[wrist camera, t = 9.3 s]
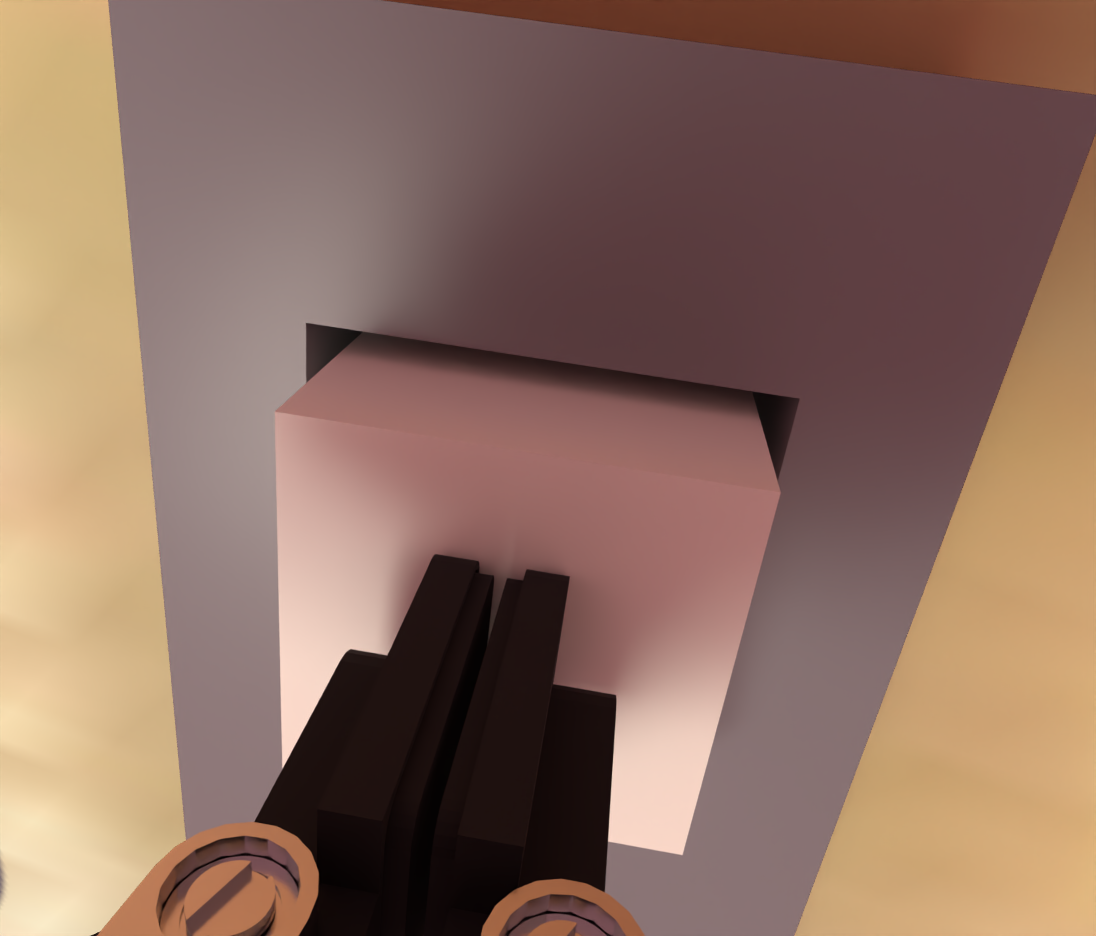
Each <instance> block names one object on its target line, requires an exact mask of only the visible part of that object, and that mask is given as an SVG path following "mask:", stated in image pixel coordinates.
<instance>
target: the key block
mask: <svg viewBox="0 0 1096 936" xmlns="http://www.w3.org/2000/svg"><path fill="white" fill-rule="evenodd" d="M108 2H109V13H110V24H111V35H112V46H113V56H114V67H115V78H116V89H117V100H118V110H119V121H120V132H121V143H122V154H123V164H124V175H125V186H126V197H127V208H128V218H129V229H130V240H131V251H132V261H133V272H134V283H135V294H136V305H137V315H138V326H139V337H140V348H141V359H142V369H143V380H144V391H145V402H146V413H147V423H148V434H149V445H150V456H151V466H152V477H153V488H154V499H155V510H156V520H157V531H158V542H159V553H160V564H161V574H162V585H163V596H164V607H165V617H166V628H167V639H168V650H169V661H170V671H171V682H172V693H173V704H174V715H175V725H176V736H177V747H178V758H179V769H180V779H181V790H182V801H183V812H184V822H185V833H186V840H187V839H189V838H191V837H193V836H194V835H196V834H198V833H200V832H202V831H205V830H209V829H212V828H215V827H218V826H221V825H225V824H232V823H245V822H254V821H255V819H256V817H257V816H258V814H259V812H260V810H261V808H262V806H263V804H264V802H265V801H266V799H267V797H268V795H269V793H270V791H271V789H272V787H273V786H274V784H275V782H276V780H277V778H278V776H279V774H280V773H281V771H282V730H281V683H280V637H279V591H278V544H277V498H276V452H275V411H276V410H277V409H278V408H279V407H280V406H281V405H283V404H284V403H285V402H286V401H287V400H288V399H289V398H290V397H291V396H293V395H294V394H295V393H296V392H297V391H298V390H299V389H300V388H301V387H302V386H304V385H305V384H306V383H307V382H308V381H309V380H310V379H311V378H312V377H314V376H315V375H316V374H317V373H318V372H319V371H320V370H321V369H322V368H324V367H325V366H326V365H327V364H328V363H329V362H330V361H331V360H332V359H333V358H335V357H336V356H337V355H338V354H339V353H340V352H341V351H342V350H343V349H345V348H346V347H347V346H348V345H349V344H350V343H351V342H352V341H353V340H355V339H356V338H357V337H358V336H359V335H360V334H361V333H362V332H370V333H376V334H383V335H389V336H396V337H402V338H409V339H415V340H422V341H428V342H435V343H441V344H448V345H454V346H461V347H467V348H474V349H480V350H487V351H493V352H500V353H506V354H513V355H519V356H526V357H532V358H539V359H545V360H552V361H558V362H565V363H571V364H578V365H584V366H591V367H597V368H604V369H610V370H617V371H623V372H630V373H636V374H643V375H649V376H656V377H662V378H669V379H675V380H682V381H688V382H695V383H701V384H708V385H714V386H721V387H727V388H734V389H740V390H747V391H752V393H753V397H754V400H755V404H756V407H757V411H758V414H759V418H760V421H761V425H762V428H763V432H764V435H765V439H766V442H767V446H768V449H769V453H770V456H771V460H772V463H773V467H774V471H775V474H776V478H777V481H778V485H779V488H780V492H781V494H780V497H779V501H778V505H777V508H776V512H775V516H774V519H773V523H772V527H771V530H770V534H769V538H768V542H767V545H766V549H765V553H764V556H763V560H762V564H761V567H760V571H759V575H758V578H757V582H756V586H755V589H754V593H753V597H752V600H751V604H750V608H749V612H748V615H747V619H746V623H745V626H744V630H743V634H742V637H741V641H740V645H739V648H738V652H737V656H736V659H735V663H734V667H733V670H732V674H731V678H730V682H729V685H728V689H727V693H726V696H725V700H724V704H723V707H722V711H721V715H720V718H719V722H718V726H717V729H716V733H715V737H714V740H713V744H712V748H711V752H710V755H709V759H708V763H707V766H706V770H705V774H704V777H703V781H702V785H701V788H700V792H699V796H698V799H697V803H696V807H695V810H694V814H693V818H692V822H691V825H690V829H689V833H688V836H687V840H686V844H685V847H684V851H683V855H679V854H673V853H668V852H663V851H657V850H652V849H646V848H641V847H635V846H630V845H624V844H619V843H614V842H608V850H607V866H606V882H605V893H607V894H609V895H610V896H611V897H613V898H614V899H615V900H616V901H617V902H618V903H620V904H621V905H622V906H623V907H624V908H625V909H626V910H628V911H629V912H630V914H631V915H632V917H633V918H634V920H635V921H636V923H637V924H638V926H639V927H640V929H641V930H642V932H643V933H644V935H645V936H794V935H795V932H796V929H797V927H798V924H799V921H800V919H801V916H802V913H803V911H804V908H805V905H806V903H807V900H808V897H809V895H810V892H811V889H812V887H813V884H814V882H815V879H816V876H817V874H818V871H819V868H820V866H821V863H822V860H823V858H824V855H825V852H826V850H827V847H828V844H829V842H830V839H831V836H832V834H833V831H834V828H835V826H836V823H837V820H838V818H839V815H840V812H841V810H842V807H843V804H844V802H845V799H846V796H847V794H848V791H849V788H850V786H851V783H852V780H853V778H854V775H855V772H856V770H857V767H858V764H859V762H860V759H861V756H862V754H863V751H864V748H865V746H866V743H867V740H868V738H869V735H870V733H871V730H872V727H873V725H874V722H875V719H876V717H877V714H878V711H879V709H880V706H881V703H882V701H883V698H884V695H885V693H886V690H887V687H888V685H889V682H890V679H891V677H892V674H893V671H894V669H895V666H896V663H897V661H898V658H899V655H900V653H901V650H902V647H903V645H904V642H905V639H906V637H907V634H908V631H909V629H910V626H911V623H912V621H913V618H914V615H915V613H916V610H917V607H918V605H919V602H920V599H921V597H922V594H923V592H924V589H925V586H926V584H927V581H928V578H929V576H930V573H931V570H932V568H933V565H934V562H935V560H936V557H937V554H938V552H939V549H940V546H941V544H942V541H943V538H944V536H945V533H946V530H947V528H948V525H949V522H950V520H951V517H952V514H953V512H954V509H955V506H956V504H957V501H958V498H959V496H960V493H961V490H962V488H963V485H964V482H965V480H966V477H967V474H968V472H969V469H970V466H971V464H972V461H973V458H974V456H975V453H976V451H977V448H978V445H979V443H980V440H981V437H982V435H983V432H984V429H985V427H986V424H987V421H988V419H989V416H990V413H991V411H992V408H993V405H994V403H995V400H996V397H997V395H998V392H999V389H1000V387H1001V384H1002V381H1003V379H1004V376H1005V373H1006V371H1007V368H1008V365H1009V363H1010V360H1011V357H1012V355H1013V352H1014V349H1015V347H1016V344H1017V341H1018V339H1019V336H1020V333H1021V331H1022V328H1023V325H1024V323H1025V320H1026V317H1027V315H1028V312H1029V310H1030V307H1031V304H1032V302H1033V299H1034V296H1035V294H1036V291H1037V288H1038V286H1039V283H1040V280H1041V278H1042V275H1043V272H1044V270H1045V267H1046V264H1047V262H1048V259H1049V256H1050V254H1051V251H1052V248H1053V246H1054V243H1055V240H1056V238H1057V235H1058V232H1059V230H1060V227H1061V224H1062V222H1063V219H1064V216H1065V214H1066V211H1067V208H1068V206H1069V203H1070V200H1071V198H1072V195H1073V192H1074V190H1075V187H1076V184H1077V182H1078V179H1079V176H1080V174H1081V171H1082V169H1083V166H1084V163H1085V161H1086V158H1087V155H1088V153H1089V150H1090V147H1091V145H1092V142H1093V139H1094V137H1095V134H1096V95H1092V94H1085V93H1077V92H1070V91H1062V90H1055V89H1047V88H1040V87H1032V86H1025V85H1017V84H1009V83H1002V82H994V81H987V80H979V79H972V78H964V77H957V76H949V75H942V74H934V73H926V72H919V71H911V70H904V69H896V68H889V67H881V66H874V65H866V64H859V63H851V62H843V61H836V60H828V59H821V58H813V57H806V56H798V55H791V54H783V53H776V52H768V51H760V50H753V49H745V48H738V47H730V46H723V45H715V44H708V43H700V42H693V41H685V40H678V39H670V38H662V37H655V36H647V35H640V34H632V33H625V32H617V31H610V30H602V29H595V28H587V27H579V26H572V25H564V24H557V23H549V22H542V21H534V20H527V19H519V18H512V17H504V16H496V15H489V14H481V13H474V12H466V11H459V10H451V9H444V8H436V7H429V6H421V5H413V4H406V3H398V2H391V1H383V0H108Z"/></svg>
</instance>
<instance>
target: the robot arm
mask: <svg viewBox="0 0 1096 936" xmlns="http://www.w3.org/2000/svg"><path fill="white" fill-rule="evenodd" d="M569 580H570V576H565V575H559V574H553V573H547V572H541V571H535V570H529V569H527V570H526V572H525V576H524V579H523V580H517V579H511V578H507V580H506V583H505V586H504V590H503V593H502V597H501V600H500V603H499V607H498V610H497V614H496V617H495V620H494V624H493V627H492V631H491V634H490V637H489V641H488V633H489V624H490V615H491V606H492V597H493V588H494V576H493V575H487V574H481V573H479V561H475V560H469V559H463V558H457V557H451V556H445V555H439V554H435V555H434V556H433V557H432V559H431V561H430V563H429V566H428V568H427V570H426V572H425V574H424V577H423V579H422V581H421V583H420V585H419V588H418V590H417V592H416V594H415V596H414V598H413V601H412V603H411V605H410V607H409V609H408V612H407V614H406V616H405V618H404V620H403V622H402V625H401V627H400V629H399V631H398V633H397V636H396V638H395V640H394V642H393V644H392V646H391V649H390V651H389V653H388V655H383V654H377V653H371V652H365V651H360V650H354V649H350V650H348V651H347V652H346V653H345V654H344V656H343V657H342V659H341V660H340V662H339V664H338V666H337V668H336V669H335V671H334V673H333V675H332V677H331V679H330V681H329V683H328V684H327V686H326V688H325V690H324V692H323V694H322V696H321V698H320V699H319V701H318V703H317V705H316V707H315V709H314V711H313V713H312V714H311V716H310V718H309V720H308V722H307V724H306V726H305V728H304V729H303V731H302V733H301V735H300V737H299V739H298V741H297V743H296V744H295V746H294V748H293V750H292V752H291V754H290V756H289V758H288V759H287V761H286V763H285V765H284V767H283V769H282V771H281V773H280V774H279V776H278V778H277V780H276V782H275V784H274V786H273V787H272V789H271V791H270V793H269V795H268V797H267V799H266V801H265V802H264V804H263V806H262V808H261V810H260V812H259V814H258V816H257V817H256V819H255V821H254V822H245V823H232V824H225V825H221V826H218V827H215V828H212V829H209V830H205V831H202V832H200V833H198V834H196V835H194V836H193V837H191V838H189V839H187V840H186V841H184V842H182V843H180V844H179V845H177V846H175V847H174V848H173V849H172V850H171V851H170V852H169V853H168V854H167V855H166V856H165V857H164V858H163V859H162V860H160V861H159V862H158V863H157V864H156V865H155V866H154V867H153V869H152V870H151V871H150V872H149V873H148V875H147V876H146V877H145V878H144V879H143V881H142V882H141V883H140V884H139V886H138V887H137V888H136V889H135V890H134V892H133V893H132V894H131V895H130V896H129V898H128V899H127V900H126V901H125V902H124V904H123V905H122V906H121V907H120V908H119V910H118V911H117V912H116V913H115V915H114V916H113V917H112V918H111V919H110V921H109V922H108V923H107V924H106V925H105V927H104V928H103V929H102V930H101V931H100V932H98V933H96V934H94V935H91V936H645V935H644V933H643V932H642V930H641V929H640V927H639V926H638V924H637V923H636V921H635V920H634V918H633V917H632V915H631V914H630V912H629V911H628V910H626V909H625V908H624V907H623V906H622V905H621V904H620V903H618V902H617V901H616V900H615V899H614V898H613V897H611V896H610V895H609V894H607V893H605V882H606V866H607V850H608V834H609V818H610V802H611V786H612V770H613V754H614V738H615V722H616V704H617V698H616V695H614V694H608V693H602V692H597V691H591V690H585V689H579V688H574V687H568V686H562V685H556V684H553V682H554V676H555V670H556V663H557V657H558V650H559V644H560V638H561V631H562V625H563V619H564V612H565V606H566V599H567V593H568V587H569ZM487 642H488V644H487Z"/></svg>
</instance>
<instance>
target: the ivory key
mask: <svg viewBox="0 0 1096 936" xmlns="http://www.w3.org/2000/svg"><path fill="white" fill-rule="evenodd" d="M275 452H276V498H277V544H278V591H279V637H280V683H281V730H282V769H283V767H284V765H285V763H286V761H287V759H288V758H289V756H290V754H291V752H292V750H293V748H294V746H295V744H296V743H297V741H298V739H299V737H300V735H301V733H302V731H303V729H304V728H305V726H306V724H307V722H308V720H309V718H310V716H311V714H312V713H313V711H314V709H315V707H316V705H317V703H318V701H319V699H320V698H321V696H322V694H323V692H324V690H325V688H326V686H327V684H328V683H329V681H330V679H331V677H332V675H333V673H334V671H335V669H336V668H337V666H338V664H339V662H340V660H341V659H342V657H343V656H344V654H345V653H346V652H347V651H348V650H350V649H354V650H360V651H365V652H371V653H377V654H383V655H388V653H389V651H390V649H391V646H392V644H393V642H394V640H395V638H396V636H397V633H398V631H399V629H400V627H401V625H402V622H403V620H404V618H405V616H406V614H407V612H408V609H409V607H410V605H411V603H412V601H413V598H414V596H415V594H416V592H417V590H418V588H419V585H420V583H421V581H422V579H423V577H424V574H425V572H426V570H427V568H428V566H429V563H430V561H431V559H432V557H433V556H434V555H435V554H439V555H445V556H451V557H457V558H463V559H469V560H475V561H479V573H481V574H487V575H493V576H494V588H493V597H492V606H491V615H490V624H489V633H488V641H489V637H490V634H491V631H492V627H493V624H494V620H495V617H496V614H497V610H498V607H499V603H500V600H501V597H502V593H503V590H504V586H505V583H506V580H507V578H511V579H517V580H523V579H524V576H525V572H526V570H527V569H529V570H535V571H541V572H547V573H553V574H559V575H565V576H570V580H569V587H568V593H567V599H566V606H565V612H564V619H563V625H562V631H561V638H560V644H559V650H558V657H557V663H556V670H555V676H554V682H553V684H556V685H562V686H568V687H574V688H579V689H585V690H591V691H597V692H602V693H608V694H614V695H616V698H617V704H616V722H615V738H614V754H613V770H612V786H611V802H610V818H609V834H608V842H614V843H619V844H624V845H630V846H635V847H641V848H646V849H652V850H657V851H663V852H668V853H673V854H679V855H683V851H684V847H685V844H686V840H687V836H688V833H689V829H690V825H691V822H692V818H693V814H694V810H695V807H696V803H697V799H698V796H699V792H700V788H701V785H702V781H703V777H704V774H705V770H706V766H707V763H708V759H709V755H710V752H711V748H712V744H713V740H714V737H715V733H716V729H717V726H718V722H719V718H720V715H721V711H722V707H723V704H724V700H725V696H726V693H727V689H728V685H729V682H730V678H731V674H732V670H733V667H734V663H735V659H736V656H737V652H738V648H739V645H740V641H741V637H742V634H743V630H744V626H745V623H746V619H747V615H748V612H749V608H750V604H751V600H752V597H753V593H754V589H755V586H756V582H757V578H758V575H759V571H760V567H761V564H762V560H763V556H764V553H765V549H766V545H767V542H768V538H769V534H770V530H771V527H772V523H773V519H774V516H775V512H776V508H777V505H778V501H779V497H780V494H781V492H780V488H779V485H778V481H777V478H776V474H775V471H774V467H773V463H772V460H771V456H770V453H769V449H768V446H767V442H766V439H765V435H764V432H763V428H762V425H761V421H760V418H759V414H758V411H757V407H756V404H755V400H754V397H753V393H752V391H747V390H740V389H734V388H727V387H721V386H714V385H708V384H701V383H695V382H688V381H682V380H675V379H669V378H662V377H656V376H649V375H643V374H636V373H630V372H623V371H617V370H610V369H604V368H597V367H591V366H584V365H578V364H571V363H565V362H558V361H552V360H545V359H539V358H532V357H526V356H519V355H513V354H506V353H500V352H493V351H487V350H480V349H474V348H467V347H461V346H454V345H448V344H441V343H435V342H428V341H422V340H415V339H409V338H402V337H396V336H389V335H383V334H376V333H370V332H362V333H361V334H360V335H359V336H358V337H357V338H356V339H355V340H353V341H352V342H351V343H350V344H349V345H348V346H347V347H346V348H345V349H343V350H342V351H341V352H340V353H339V354H338V355H337V356H336V357H335V358H333V359H332V360H331V361H330V362H329V363H328V364H327V365H326V366H325V367H324V368H322V369H321V370H320V371H319V372H318V373H317V374H316V375H315V376H314V377H312V378H311V379H310V380H309V381H308V382H307V383H306V384H305V385H304V386H302V387H301V388H300V389H299V390H298V391H297V392H296V393H295V394H294V395H293V396H291V397H290V398H289V399H288V400H287V401H286V402H285V403H284V404H283V405H281V406H280V407H279V408H278V409H277V410H276V411H275ZM487 644H488V642H487Z"/></svg>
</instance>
